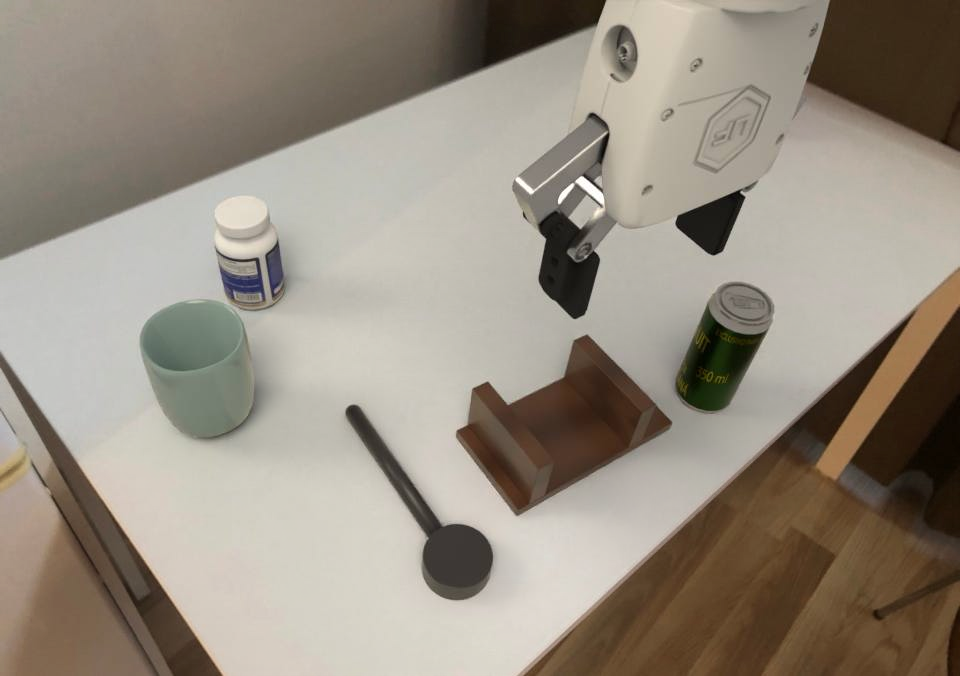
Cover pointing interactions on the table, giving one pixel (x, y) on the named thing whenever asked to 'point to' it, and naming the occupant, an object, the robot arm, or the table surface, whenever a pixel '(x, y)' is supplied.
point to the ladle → (433, 527)
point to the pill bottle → (248, 253)
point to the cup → (199, 366)
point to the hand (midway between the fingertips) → (632, 268)
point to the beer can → (724, 346)
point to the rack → (559, 428)
